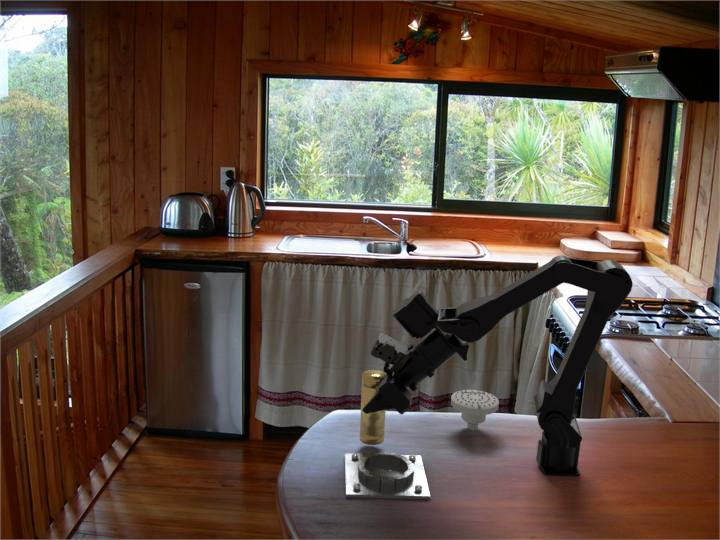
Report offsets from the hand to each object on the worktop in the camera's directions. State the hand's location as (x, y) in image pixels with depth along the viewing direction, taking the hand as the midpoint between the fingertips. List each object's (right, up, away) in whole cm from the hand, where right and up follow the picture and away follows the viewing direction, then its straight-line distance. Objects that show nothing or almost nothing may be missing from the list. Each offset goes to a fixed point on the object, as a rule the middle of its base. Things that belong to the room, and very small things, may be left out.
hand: (365, 406), depth 142 cm
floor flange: (+3, -11, -9) cm, 14 cm away
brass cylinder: (+1, -7, +1) cm, 7 cm away
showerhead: (+22, -7, +12) cm, 25 cm away
